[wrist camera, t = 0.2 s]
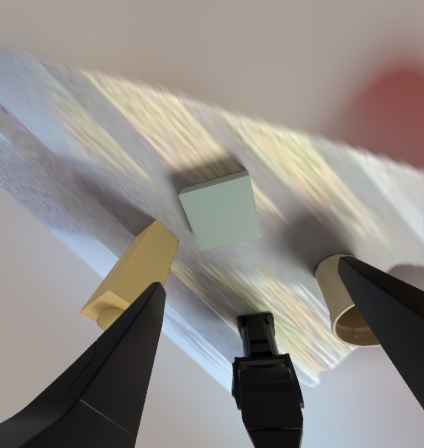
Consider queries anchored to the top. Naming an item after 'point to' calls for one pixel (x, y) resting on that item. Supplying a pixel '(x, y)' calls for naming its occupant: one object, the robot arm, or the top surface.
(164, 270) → the tower brick
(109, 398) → the robot arm
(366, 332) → the flower pot
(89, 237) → the top surface
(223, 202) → the plinth brick
